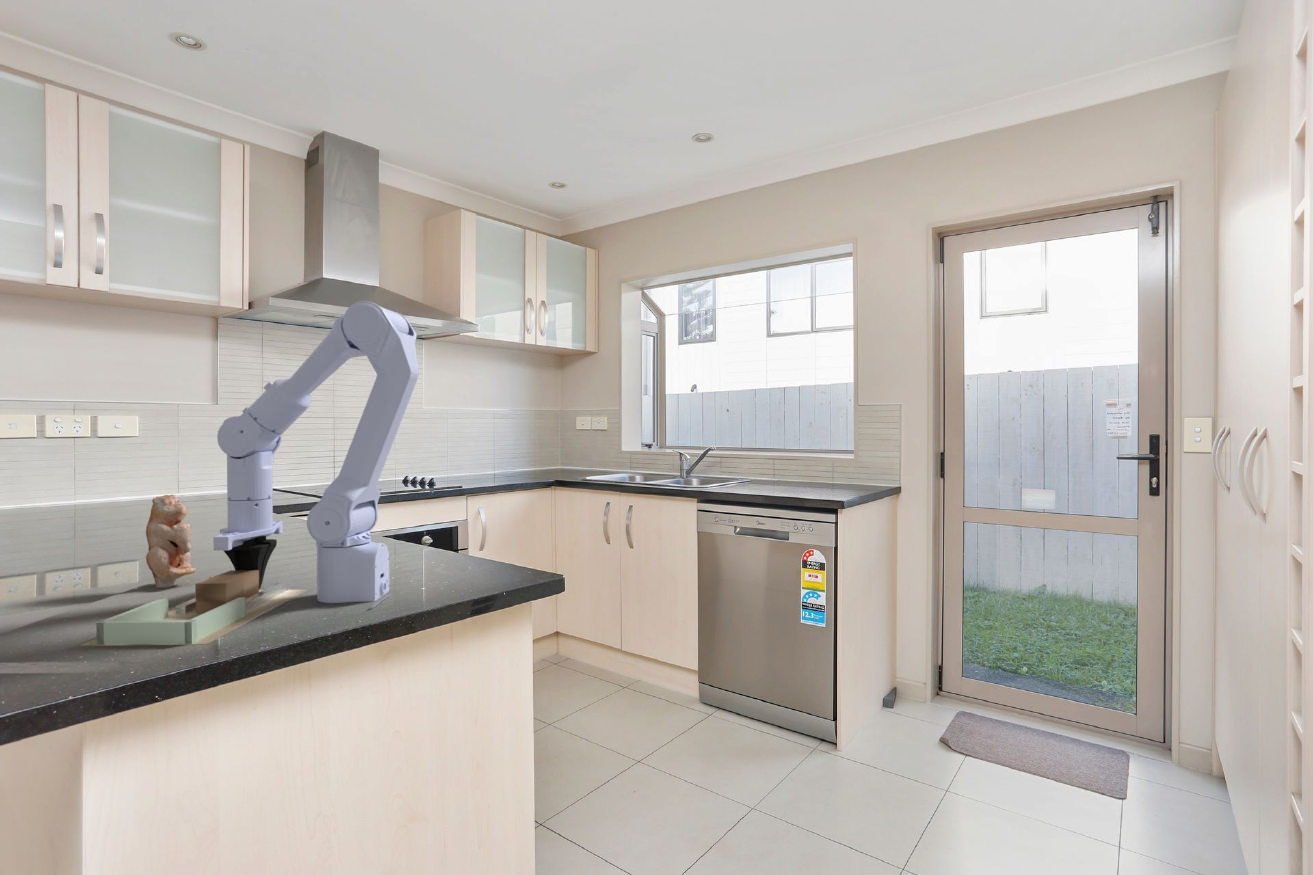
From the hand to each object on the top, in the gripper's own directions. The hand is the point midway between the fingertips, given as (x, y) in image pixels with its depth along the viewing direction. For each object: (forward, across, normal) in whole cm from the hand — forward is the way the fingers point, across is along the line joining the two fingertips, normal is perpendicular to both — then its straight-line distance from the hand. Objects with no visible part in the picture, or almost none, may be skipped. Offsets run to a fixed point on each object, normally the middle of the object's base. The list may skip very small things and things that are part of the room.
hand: (251, 590), depth 98 cm
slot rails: (+1, +4, 0) cm, 4 cm away
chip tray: (+1, +16, 0) cm, 17 cm away
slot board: (+2, +10, 0) cm, 10 cm away
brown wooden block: (+1, +4, 0) cm, 4 cm away
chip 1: (+1, +8, 0) cm, 8 cm away
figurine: (+2, -7, -16) cm, 18 cm away
